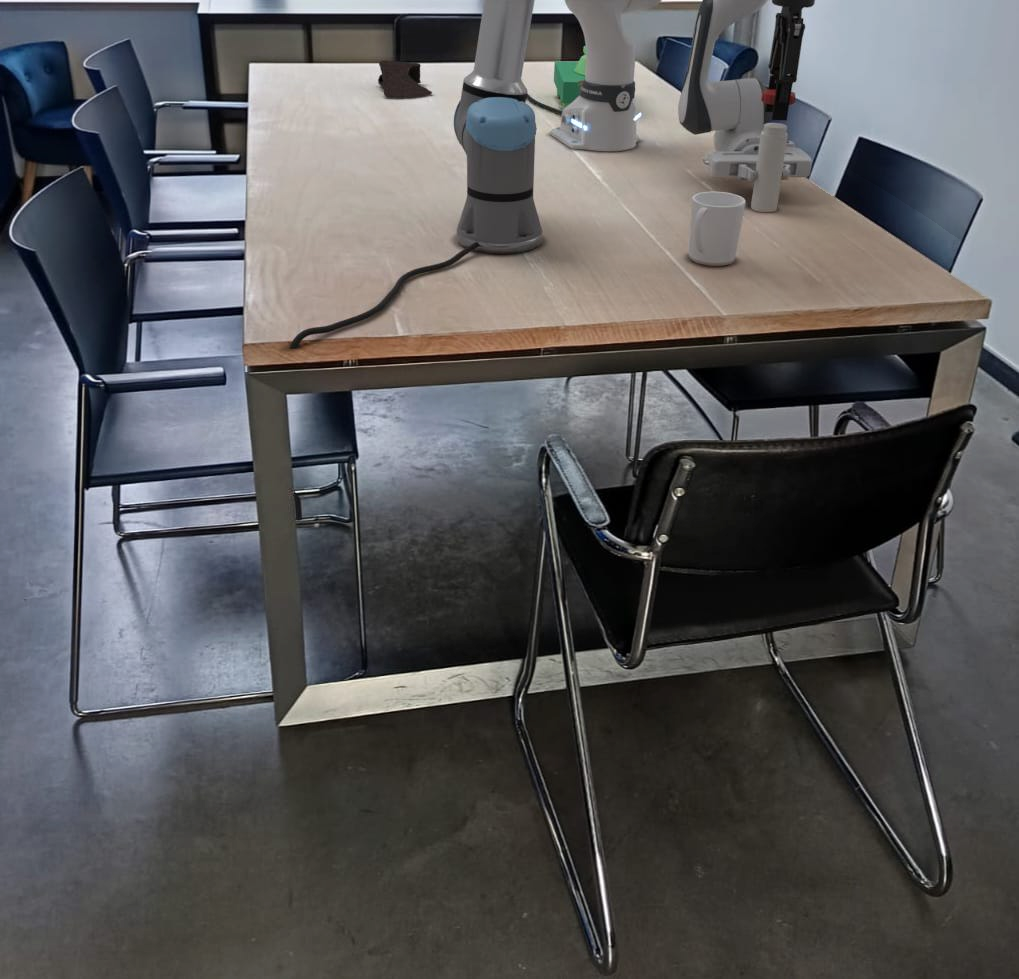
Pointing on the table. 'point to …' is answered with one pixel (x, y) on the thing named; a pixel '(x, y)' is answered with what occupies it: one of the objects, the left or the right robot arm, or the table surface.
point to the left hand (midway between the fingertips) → (775, 115)
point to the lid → (770, 95)
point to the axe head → (401, 79)
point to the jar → (769, 167)
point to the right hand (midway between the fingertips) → (770, 175)
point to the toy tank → (569, 79)
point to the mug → (715, 227)
